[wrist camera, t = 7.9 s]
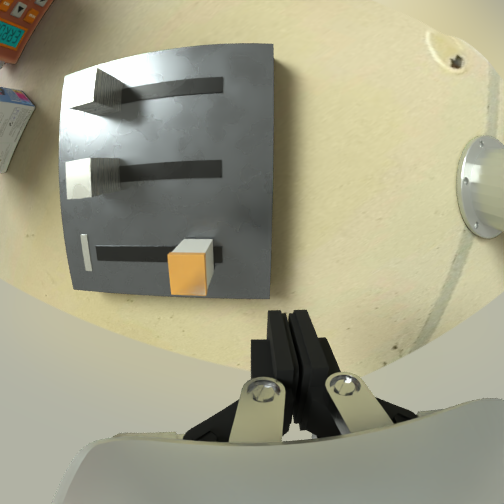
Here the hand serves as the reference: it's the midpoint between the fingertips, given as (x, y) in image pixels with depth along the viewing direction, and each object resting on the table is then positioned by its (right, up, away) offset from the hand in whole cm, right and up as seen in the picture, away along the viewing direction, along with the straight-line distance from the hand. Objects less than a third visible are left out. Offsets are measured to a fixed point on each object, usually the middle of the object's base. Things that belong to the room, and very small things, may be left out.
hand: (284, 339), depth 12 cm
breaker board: (-10, +11, +12) cm, 19 cm away
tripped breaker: (-6, +4, +11) cm, 13 cm away
